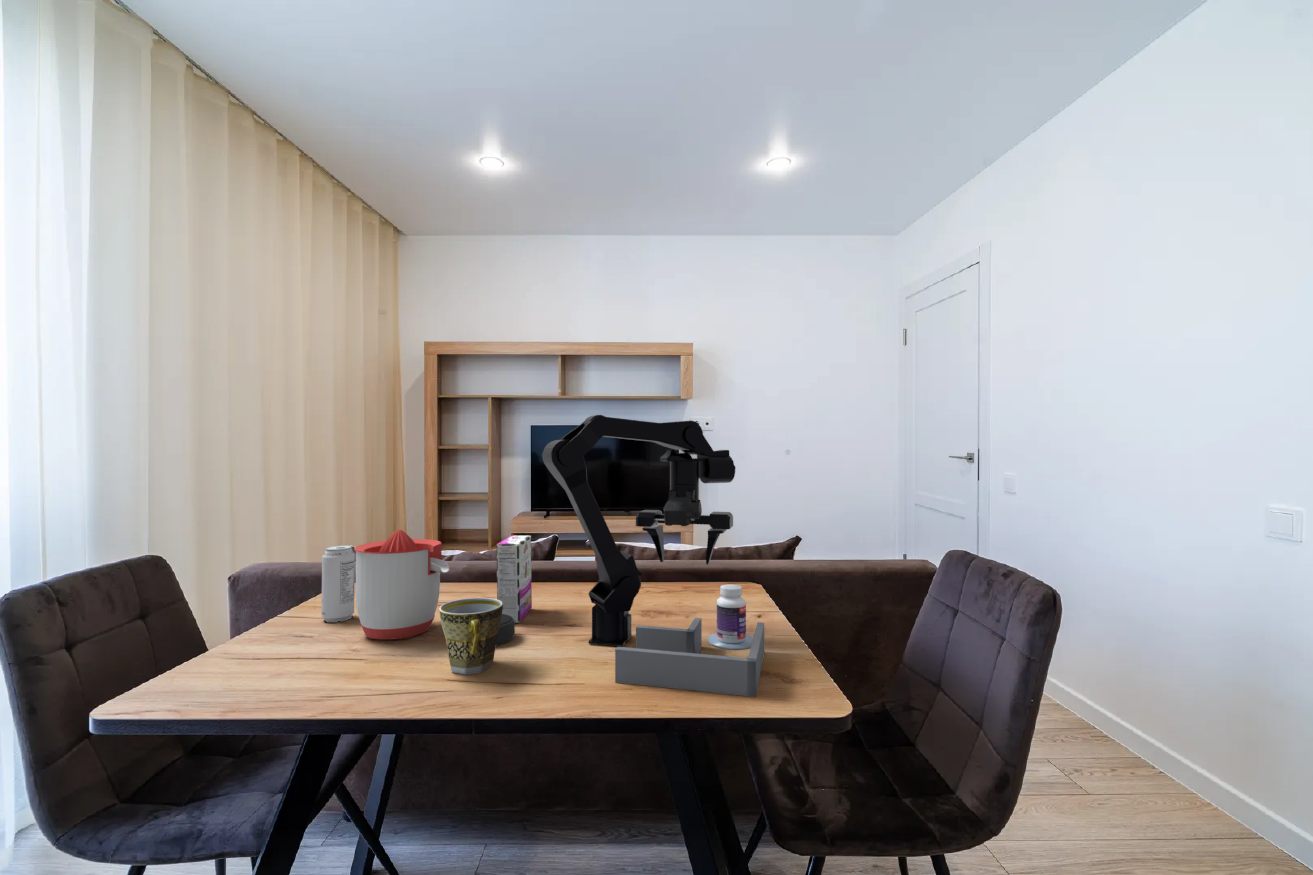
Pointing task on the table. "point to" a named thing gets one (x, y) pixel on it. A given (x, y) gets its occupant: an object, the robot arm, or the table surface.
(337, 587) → the energy drink can
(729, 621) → the pill bottle
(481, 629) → the ceramic cup
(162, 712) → the table surface
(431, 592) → the citrus juicer
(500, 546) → the candy bar box
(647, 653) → the channel
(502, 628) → the smart speaker
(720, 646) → the pad
